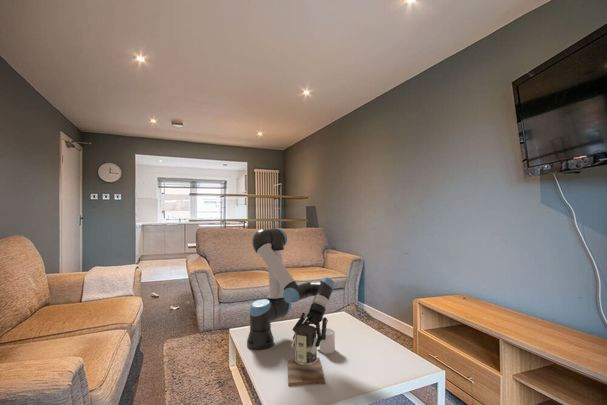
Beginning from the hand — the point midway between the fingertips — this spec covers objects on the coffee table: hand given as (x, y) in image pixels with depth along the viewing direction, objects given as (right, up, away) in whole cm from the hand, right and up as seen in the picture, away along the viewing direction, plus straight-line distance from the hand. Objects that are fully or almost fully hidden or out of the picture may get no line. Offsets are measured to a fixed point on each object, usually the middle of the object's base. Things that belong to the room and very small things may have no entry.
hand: (302, 350), depth 134 cm
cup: (+12, -12, +24) cm, 30 cm away
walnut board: (+1, -11, +3) cm, 12 cm away
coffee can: (+2, -6, +2) cm, 6 cm away
